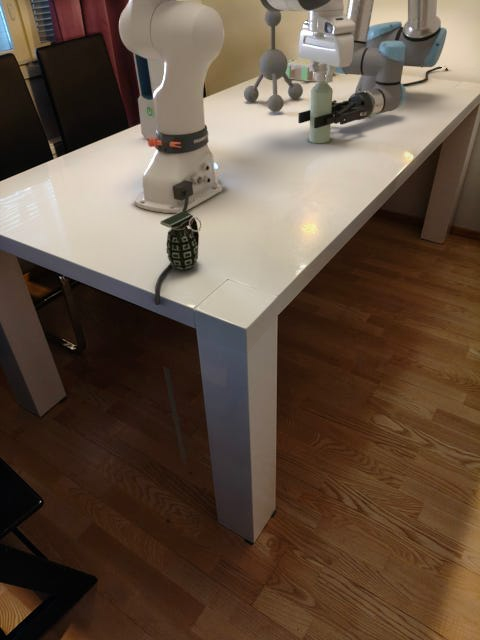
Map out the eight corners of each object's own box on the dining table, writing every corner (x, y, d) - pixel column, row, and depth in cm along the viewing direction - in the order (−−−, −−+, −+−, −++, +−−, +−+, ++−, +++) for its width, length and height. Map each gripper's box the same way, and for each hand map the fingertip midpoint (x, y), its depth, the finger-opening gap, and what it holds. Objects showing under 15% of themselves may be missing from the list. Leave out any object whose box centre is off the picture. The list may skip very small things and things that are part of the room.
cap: (320, 77, 137) (321, 69, 136) (333, 78, 134) (333, 71, 133) (311, 80, 134) (312, 72, 133) (324, 81, 132) (324, 74, 131)
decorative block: (305, 52, 220) (345, 55, 211) (304, 68, 224) (344, 71, 215) (274, 63, 204) (317, 66, 195) (274, 80, 208) (316, 84, 199)
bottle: (333, 138, 145) (337, 72, 134) (323, 144, 141) (327, 77, 130) (315, 135, 148) (318, 70, 137) (305, 141, 144) (307, 75, 133)
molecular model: (322, 103, 175) (328, 5, 157) (274, 116, 166) (273, 12, 147) (282, 92, 191) (282, 1, 172) (235, 103, 181) (230, 8, 163)
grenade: (182, 278, 88) (175, 228, 82) (162, 268, 91) (153, 219, 85) (208, 263, 92) (203, 214, 85) (187, 253, 95) (181, 205, 89)
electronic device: (141, 137, 154) (123, 28, 136) (159, 131, 158) (144, 24, 140) (166, 145, 147) (151, 30, 129) (185, 138, 151) (172, 26, 133)
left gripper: (293, 20, 132) (292, 75, 141) (339, 27, 118) (334, 89, 126) (312, 17, 135) (310, 72, 143) (359, 24, 120) (354, 85, 128)
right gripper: (386, 124, 144) (329, 141, 134) (341, 111, 157) (285, 126, 147) (390, 97, 140) (331, 113, 130) (343, 86, 152) (285, 100, 142)
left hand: (322, 80), depth 135 cm, fingers closed on cap, 4 cm apart
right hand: (307, 120), depth 138 cm, fingers closed on bottle, 6 cm apart
